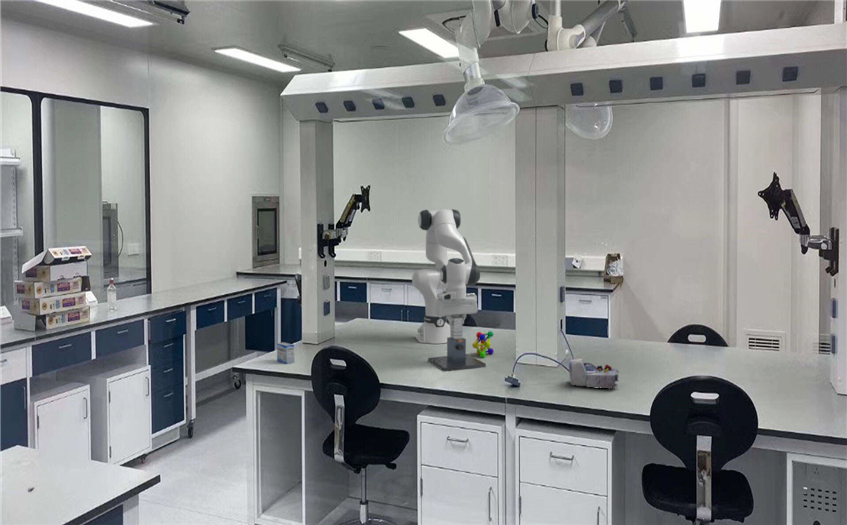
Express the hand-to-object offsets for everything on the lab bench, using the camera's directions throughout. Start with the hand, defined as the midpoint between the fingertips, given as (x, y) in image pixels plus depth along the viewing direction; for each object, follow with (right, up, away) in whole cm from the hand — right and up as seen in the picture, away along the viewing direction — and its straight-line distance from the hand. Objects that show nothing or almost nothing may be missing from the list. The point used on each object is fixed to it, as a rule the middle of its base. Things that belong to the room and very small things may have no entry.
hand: (456, 324), depth 303 cm
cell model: (+54, -22, -34) cm, 67 cm away
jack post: (0, -13, +1) cm, 13 cm away
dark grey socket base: (0, -18, +2) cm, 19 cm away
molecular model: (+14, -17, +18) cm, 28 cm away
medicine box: (-79, -19, +7) cm, 82 cm away
